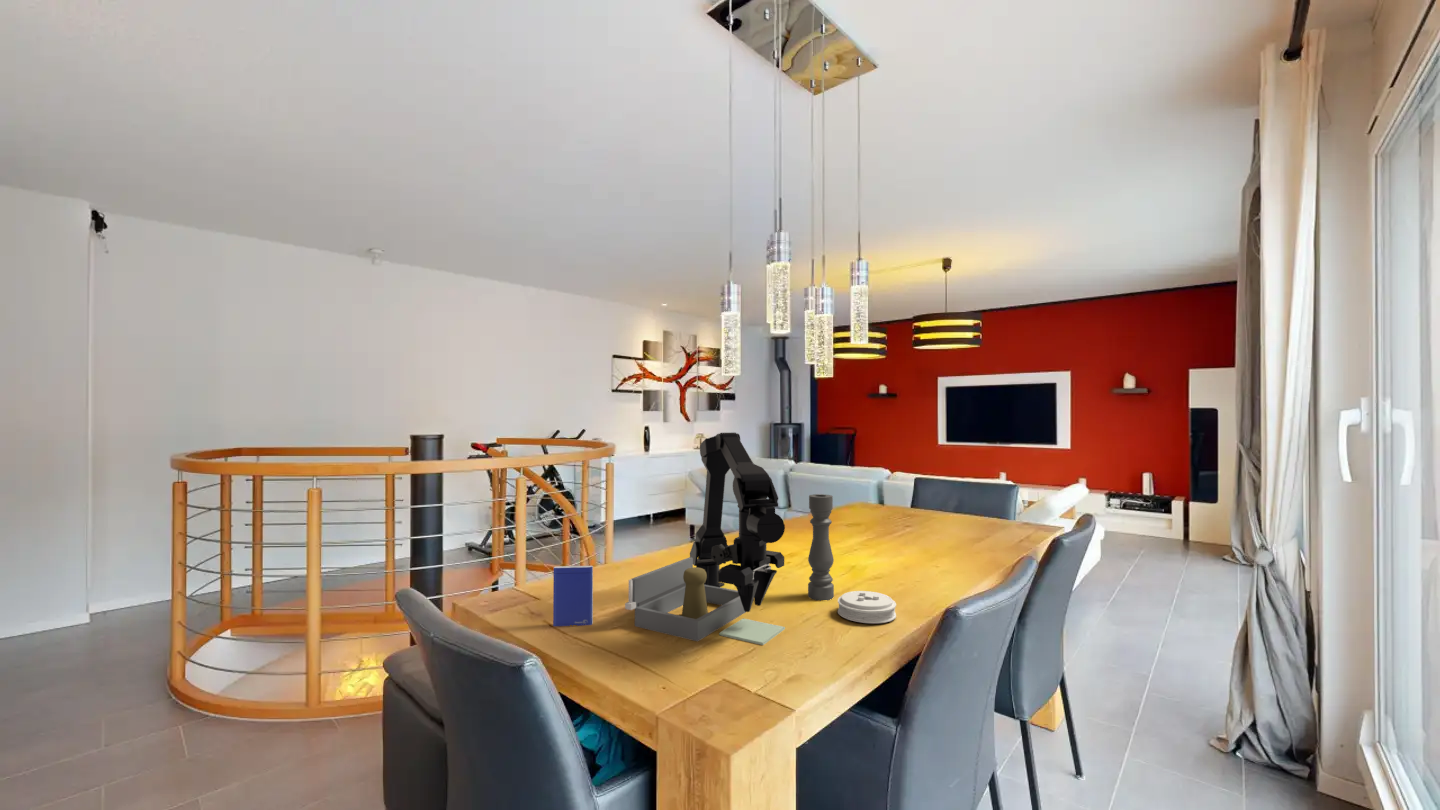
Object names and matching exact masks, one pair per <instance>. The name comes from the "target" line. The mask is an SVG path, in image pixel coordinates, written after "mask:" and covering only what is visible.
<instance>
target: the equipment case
mask: <svg viewBox="0 0 1440 810" xmlns="http://www.w3.org/2000/svg"><path fill="white" fill-rule="evenodd" d="M693 567H694V565H693V558H691V557H690V556H689V557H686V558H684V559H681V560H678V561H676V562H673V563H670V564H668V565H665V566H661V567H659V568H657V569H654V570H651V571H648V572H646V573H642V574H641V575H637V576H635V577H632V578H630V579H628V601H627V602H624V609H625V610H628V611H629V610H630V611H633V610H634V627H637V628H641V629H643V630H649V631H653V632H657V633H661V634H666V635H669V636H674V637H678V638H682V639H686V640H690V641H694V642H699V641H701V640H702V639H705V638H706V637H707V636H709V635H710V634H713V633H714V632H715V631H718V630H719V629H720V628H722V627H724V626H725V625H727V624H729V623H730V622H732V621H734V620H735V619H737V618H739V617H740V616H742V615H744V614H745V613H747V612H745V611H744V608H743V605H742V602H741V599H740V596H739V593H738V590H737V589H732V588H726V587H715V586H709V585H704V586H705V594H706V602H707V603H708V604H714V605H719V607H717V608H714V609H713V610H710V611H709V612H708V613H707V614H705V615H703V616H701V617H699V618H698V619H693V618H688V617H684V616H682V615H678V614H673V613H670V612H672V611H674V610H676V609H678V608H680V607H683V602H684V594H685V587H686V583H685V582H684V579H683V575H684V572H685V570H686V569H688V568H693Z"/></svg>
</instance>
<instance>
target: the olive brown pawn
mask: <svg viewBox="0 0 1440 810" xmlns="http://www.w3.org/2000/svg"><path fill="white" fill-rule="evenodd" d="M683 579H684V582H685V583H686V587H685V594H684V602H683V605H682V609H681V610H682V611H681V616H684V617H688V618H693V619H698V618H699V617H701V616H703V615H705V614H707V613H709V612H708V605H707V602H706V594H705V586H704V583H705V582H706V579H707V574H706V571H705V570H704V569H702V568H698V567H696V566H695V567H694V566H693V568H688V569H686V570H685V572H684V575H683Z"/></svg>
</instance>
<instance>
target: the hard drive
mask: <svg viewBox="0 0 1440 810" xmlns="http://www.w3.org/2000/svg"><path fill="white" fill-rule="evenodd" d="M593 573H594V565H565V566H563V565H562V566H561V565H560V566H559V565H557V566H553V582H552V583H553V604H552V605H553V607H552V608H553V613H552V614H553V616H552V617H553V620H552V626H553V627H573V625H577V626H592V625H593V623H594V621H593V620H594V616H593V615H594V611H593V610H594V596H593V595H594V590H593V589H594V574H593ZM570 625H572V626H570Z"/></svg>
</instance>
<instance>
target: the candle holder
mask: <svg viewBox="0 0 1440 810" xmlns="http://www.w3.org/2000/svg"><path fill="white" fill-rule="evenodd" d="M833 498H834V497H833V495H831V494H824V493H823V494H822V493H819V494H818V493H817V494H816V493H815V494H809V496H808V509H809V511H810V513H811V516H812V518H811V519H810V520H809V523H810V524H811V526H812V540H811V544H810V548H809V553H808V556H807V558H808V559H807V562H808V564H809V566H810V567H811V571H812V573H811V574H810V576H809V577H808V579H809V581H810V582H808V583H807V584H808V585H807V597H808V598H809V599H811V600H814V601H818V600H820V602H821V600H827V601H831V600H833V599H834V598H835V597H834V596H835V595H834V593H835V592H834V591H835V588H834V584H833V583H832V582H833V581H834V580H833V577H832V575H831V574H830V572H831V568H832V566H833V564H834V555H833V552H832V546H831V542H830V535H829V534H830V525H831V524H832V520H831V519H830V517H831V514H832V510H833V509H834V507H833V506H834V505H833V503H834V501H833V500H834V499H833ZM833 597H834V598H833ZM832 598H833V599H832ZM830 599H831V600H830Z"/></svg>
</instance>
